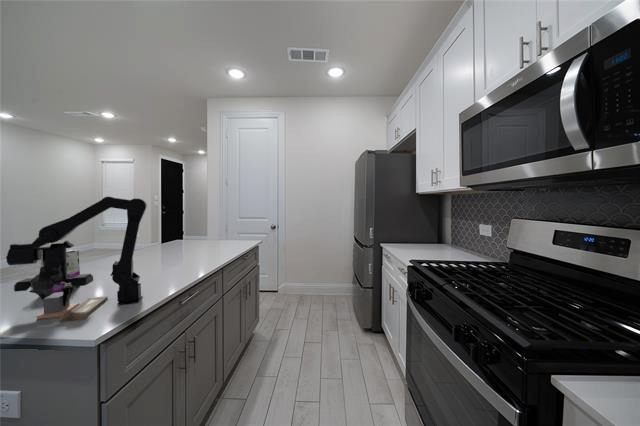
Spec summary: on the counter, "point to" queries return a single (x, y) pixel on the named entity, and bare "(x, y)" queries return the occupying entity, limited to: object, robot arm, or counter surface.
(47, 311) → the stub
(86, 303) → the board
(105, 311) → the counter surface
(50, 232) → the robot arm
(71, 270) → the candy bar box
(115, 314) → the counter surface
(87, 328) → the counter surface
